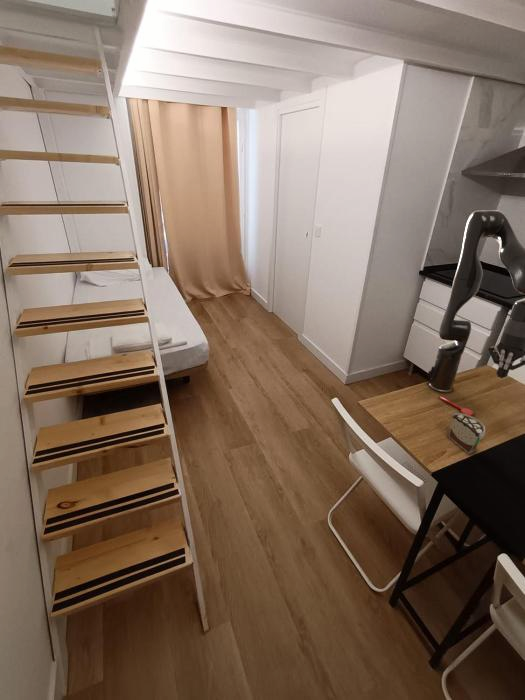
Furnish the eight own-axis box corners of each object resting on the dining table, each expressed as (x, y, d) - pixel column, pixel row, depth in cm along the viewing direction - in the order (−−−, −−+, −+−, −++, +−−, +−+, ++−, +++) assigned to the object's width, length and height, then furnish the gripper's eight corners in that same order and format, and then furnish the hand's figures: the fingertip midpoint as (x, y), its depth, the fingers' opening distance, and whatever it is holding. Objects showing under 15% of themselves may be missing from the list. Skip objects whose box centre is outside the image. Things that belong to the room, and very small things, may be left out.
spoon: (436, 399, 144) (437, 397, 143) (443, 396, 146) (443, 394, 145) (468, 417, 133) (469, 415, 132) (475, 414, 134) (475, 412, 134)
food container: (486, 453, 115) (495, 431, 110) (472, 457, 113) (481, 434, 109) (458, 430, 125) (465, 409, 121) (445, 434, 124) (452, 412, 119)
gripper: (546, 336, 105) (527, 382, 113) (502, 323, 116) (487, 366, 123) (534, 341, 102) (515, 388, 110) (490, 327, 112) (475, 371, 120)
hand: (500, 376), depth 117 cm, fingers closed
